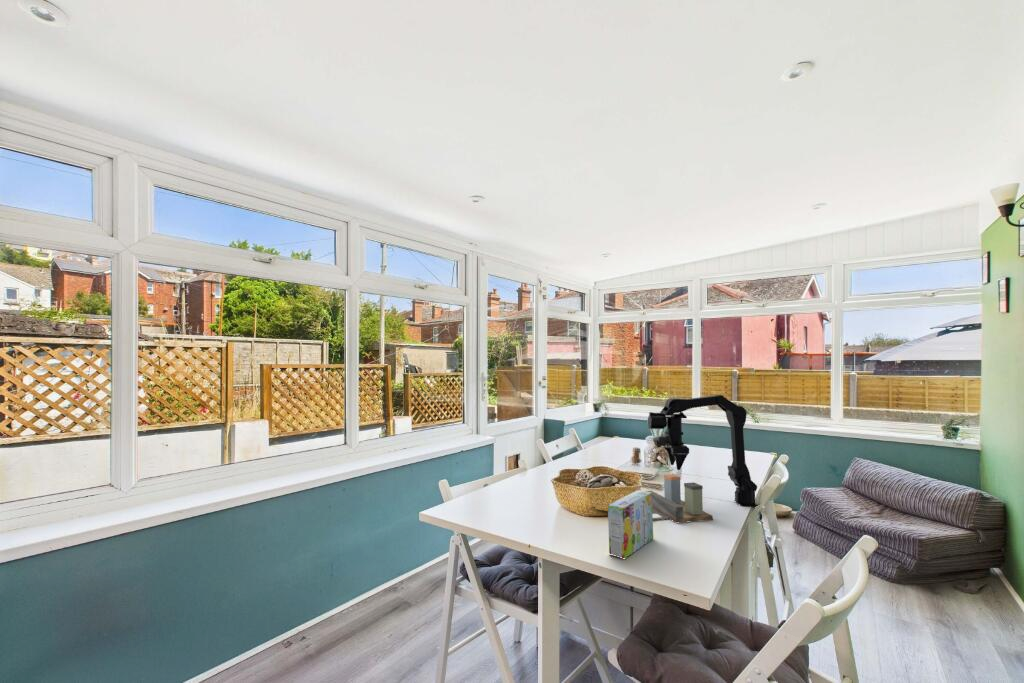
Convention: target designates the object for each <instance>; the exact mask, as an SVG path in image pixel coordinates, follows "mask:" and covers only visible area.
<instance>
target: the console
mask: <svg viewBox="0 0 1024 683" xmlns="http://www.w3.org/2000/svg"><path fill="white" fill-rule="evenodd" d="M646 491H647V492H651V493H652V508H653V509H655V510H656V511H658V512H660V513H661V514H663V515H665V516H667V517H668V518H670V519H671V520H670V519H669V520H670V521H672V520H673V521H674V522H673V521H672V522H673V523H675V522H682V523H688V522H687V521H693V522H700V521H699V520H705V521H712V520H714V519H713V518H714V516H713V515H712V514H710V513H709V512H706V511H705V510H703V514H698V515H692V514H690V513H688V512H687V511H685V500H684V501H683V500H682V499H681V503H675V502H673V501H671V500H669V499H667V498H665V496H663V495H661V494H659V493H657V492H655V491H653V490H646Z"/></svg>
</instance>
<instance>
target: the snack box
mask: <svg viewBox="0 0 1024 683" xmlns="http://www.w3.org/2000/svg"><path fill="white" fill-rule="evenodd" d="M647 491H648V490H639V489H637V490H636V491H633V492H631V493H630V494H627V495H626V496H623V497H621V498H619V499H617V500H616V501H615V500H614V502H613V503H611V504H609V505H608V511H607V524H608V553H610V554H613V555H616V556H619V557H622V558H626V557H627V556H629V555H630V554H631V555H633V554H634V553H635V552H637V551H638V550H640V549H641V548H642V547H644V546H645V545H646V544H648V543H649V542H650V541H652V540H653V539H654V523H653V522H654V521H653V516H652V493H651V492H647ZM647 542H648V543H647ZM644 544H645V545H644ZM643 545H644V546H643ZM640 547H641V548H640ZM637 549H638V550H637ZM636 550H637V551H636ZM633 552H634V553H633ZM632 553H633V554H632ZM631 555H630V556H631ZM630 556H629V557H630ZM627 558H628V557H627ZM627 558H626V559H627Z"/></svg>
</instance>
